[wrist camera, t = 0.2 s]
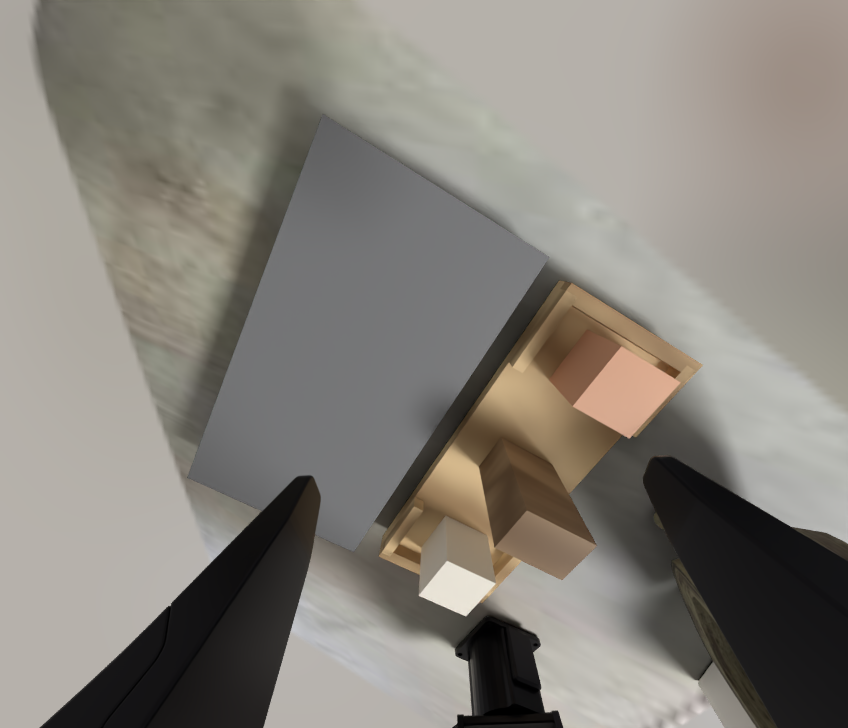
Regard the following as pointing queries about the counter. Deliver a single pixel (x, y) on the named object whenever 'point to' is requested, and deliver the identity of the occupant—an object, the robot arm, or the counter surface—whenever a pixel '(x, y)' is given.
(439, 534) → the block
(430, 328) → the grey flat slab
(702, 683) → the milk carton
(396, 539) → the tray
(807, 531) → the tabletop clock
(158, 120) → the counter surface
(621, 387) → the block
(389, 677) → the counter surface
